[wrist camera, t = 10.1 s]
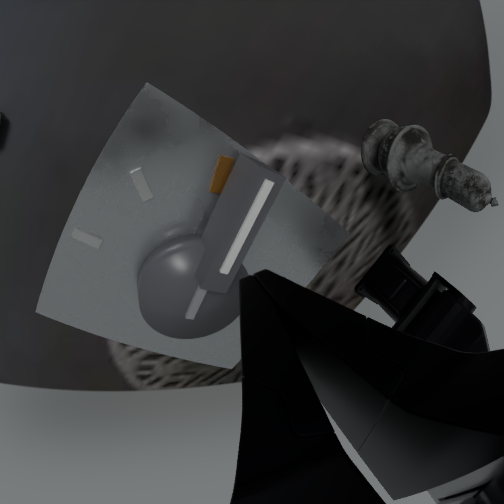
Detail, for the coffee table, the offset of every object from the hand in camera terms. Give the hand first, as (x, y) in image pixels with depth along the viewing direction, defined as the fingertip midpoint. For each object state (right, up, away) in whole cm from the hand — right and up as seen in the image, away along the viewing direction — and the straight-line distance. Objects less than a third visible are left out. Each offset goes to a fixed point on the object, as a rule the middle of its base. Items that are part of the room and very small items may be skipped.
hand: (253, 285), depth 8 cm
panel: (-4, 0, +14) cm, 15 cm away
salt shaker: (+11, +10, +15) cm, 21 cm away
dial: (-3, +1, +12) cm, 13 cm away
